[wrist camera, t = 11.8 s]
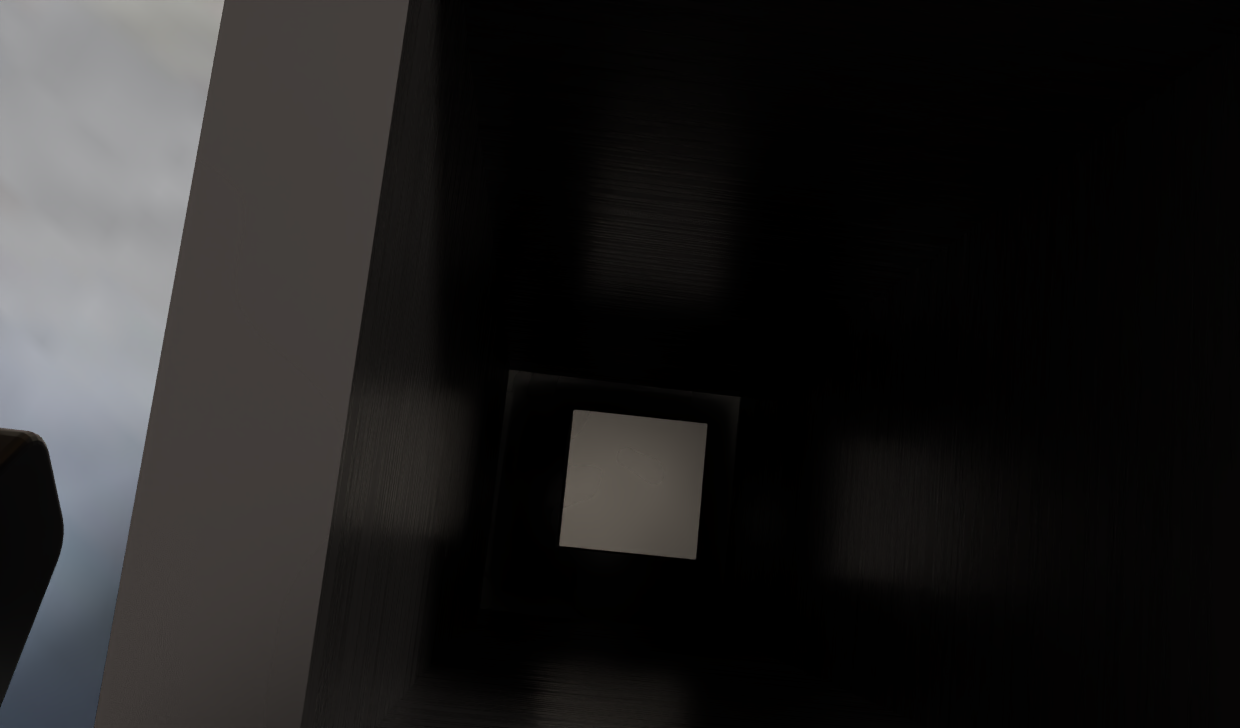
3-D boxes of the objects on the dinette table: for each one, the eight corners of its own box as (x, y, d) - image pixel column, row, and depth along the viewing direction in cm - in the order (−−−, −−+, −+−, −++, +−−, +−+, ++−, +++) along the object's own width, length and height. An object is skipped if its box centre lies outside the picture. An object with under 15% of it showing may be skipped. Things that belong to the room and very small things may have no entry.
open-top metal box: (757, 681, 16) (1562, 1154, 3) (430, 648, 15) (38, 1034, 3) (783, 361, 17) (1517, -183, 4) (473, 324, 16) (293, -371, 4)
